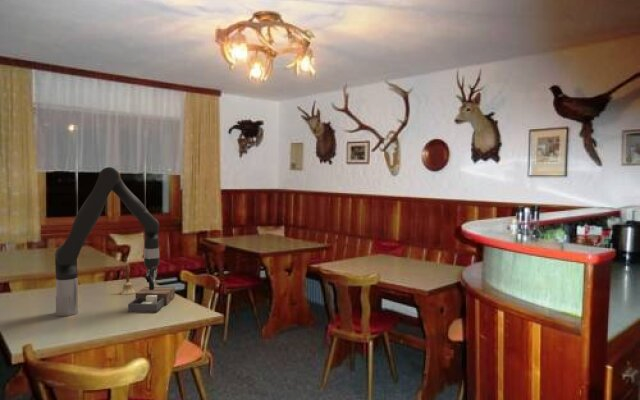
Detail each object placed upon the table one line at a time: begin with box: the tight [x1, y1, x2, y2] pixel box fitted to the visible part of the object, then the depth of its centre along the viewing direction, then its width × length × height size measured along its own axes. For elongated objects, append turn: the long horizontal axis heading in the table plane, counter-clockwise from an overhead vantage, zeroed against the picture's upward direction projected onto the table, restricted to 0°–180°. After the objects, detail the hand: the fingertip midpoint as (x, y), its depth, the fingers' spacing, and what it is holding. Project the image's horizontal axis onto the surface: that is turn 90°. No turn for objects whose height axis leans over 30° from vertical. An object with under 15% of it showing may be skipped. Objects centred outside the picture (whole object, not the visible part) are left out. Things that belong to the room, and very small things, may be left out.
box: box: [127, 297, 166, 314], centre depth 231 cm, size 12×14×4 cm
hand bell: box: [119, 264, 137, 296], centre depth 259 cm, size 8×8×16 cm
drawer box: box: [135, 286, 176, 306], centre depth 244 cm, size 14×16×6 cm
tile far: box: [146, 295, 157, 304], centre depth 234 cm, size 5×5×2 cm
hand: (151, 289), depth 238 cm, fingers closed
